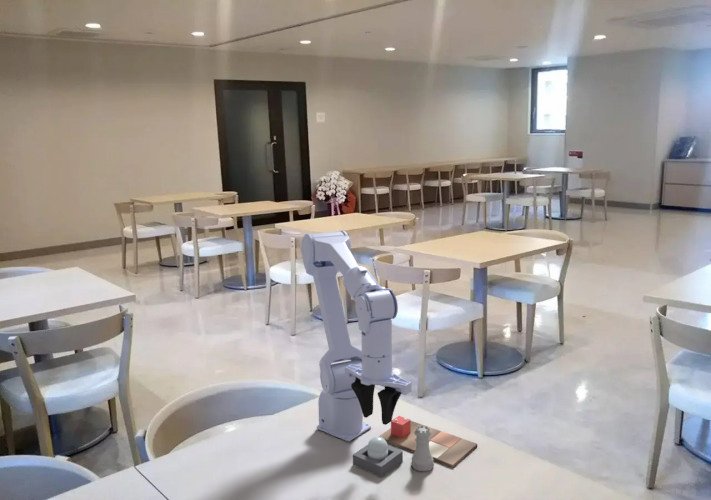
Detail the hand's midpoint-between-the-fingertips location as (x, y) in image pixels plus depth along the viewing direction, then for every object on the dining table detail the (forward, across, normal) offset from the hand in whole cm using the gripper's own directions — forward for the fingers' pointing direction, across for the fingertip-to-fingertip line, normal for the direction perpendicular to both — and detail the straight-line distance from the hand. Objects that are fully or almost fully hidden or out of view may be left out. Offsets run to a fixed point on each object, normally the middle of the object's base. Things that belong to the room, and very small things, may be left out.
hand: (377, 418), depth 114 cm
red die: (+9, -2, +12) cm, 15 cm away
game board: (+9, +4, +12) cm, 16 cm away
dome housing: (+9, 0, 0) cm, 9 cm away
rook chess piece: (+10, +8, +4) cm, 13 cm away
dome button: (+8, 0, 0) cm, 8 cm away
